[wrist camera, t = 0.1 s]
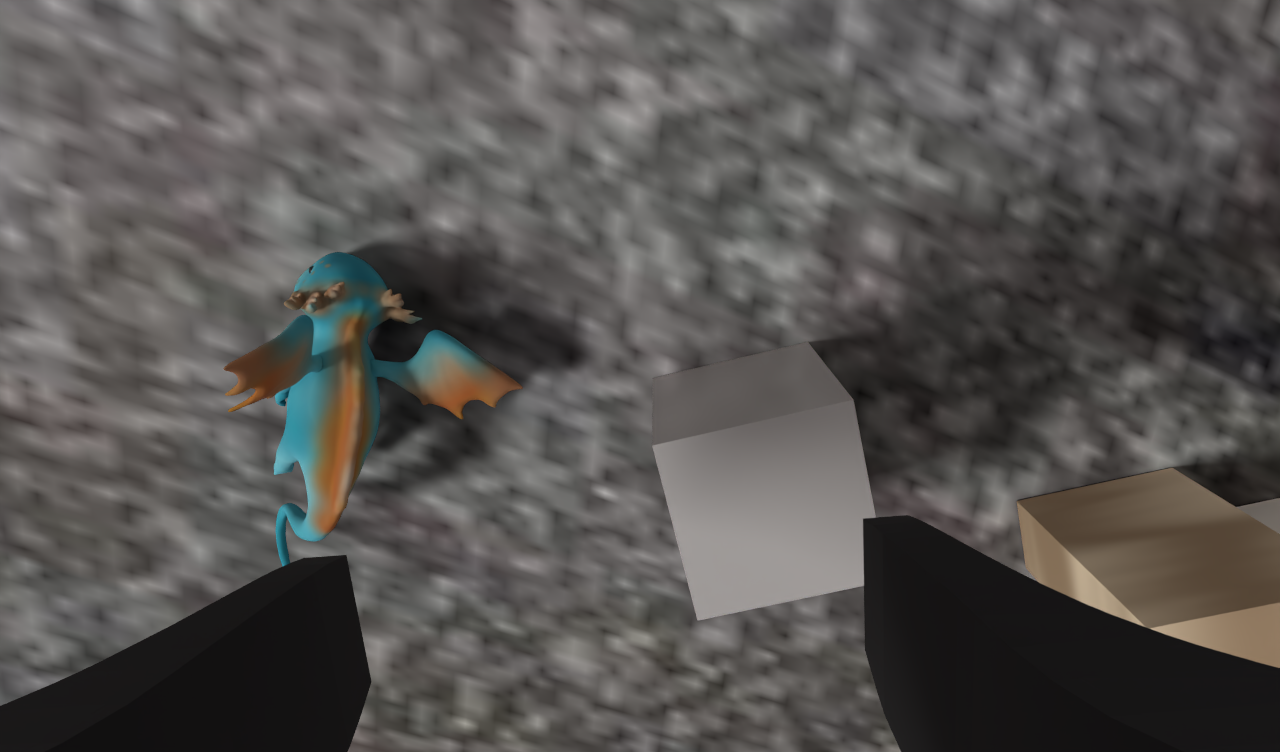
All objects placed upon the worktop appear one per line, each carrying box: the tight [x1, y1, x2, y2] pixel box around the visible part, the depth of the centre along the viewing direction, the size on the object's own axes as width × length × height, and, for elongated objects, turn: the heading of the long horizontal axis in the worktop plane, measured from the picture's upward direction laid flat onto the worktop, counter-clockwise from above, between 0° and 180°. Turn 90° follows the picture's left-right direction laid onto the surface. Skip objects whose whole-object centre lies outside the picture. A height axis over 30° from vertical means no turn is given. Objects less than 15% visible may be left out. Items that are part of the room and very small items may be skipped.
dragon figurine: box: [224, 252, 523, 566], centre depth 20 cm, size 6×7×8 cm
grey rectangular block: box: [652, 342, 876, 620], centre depth 19 cm, size 4×4×5 cm
